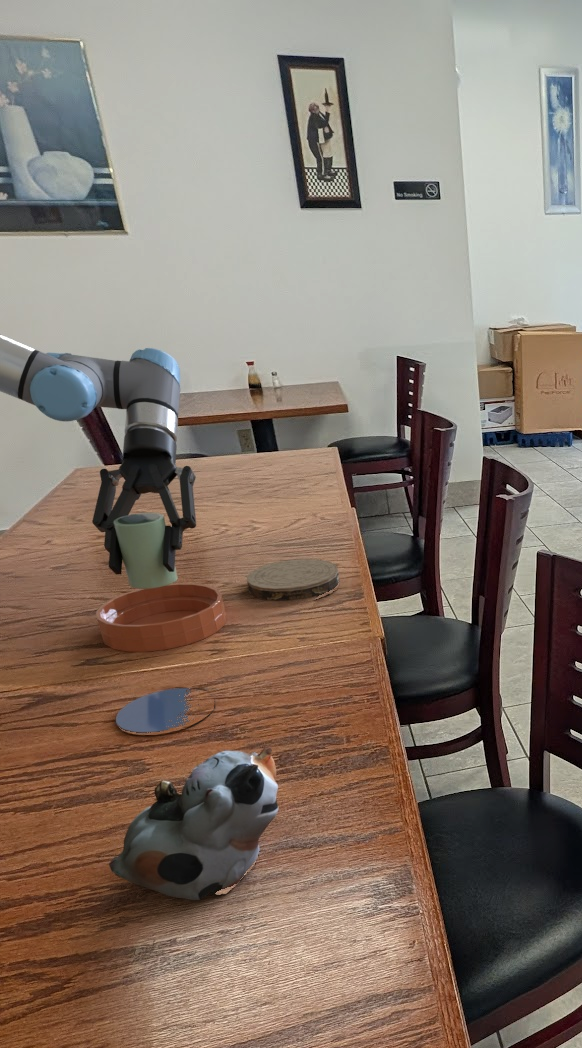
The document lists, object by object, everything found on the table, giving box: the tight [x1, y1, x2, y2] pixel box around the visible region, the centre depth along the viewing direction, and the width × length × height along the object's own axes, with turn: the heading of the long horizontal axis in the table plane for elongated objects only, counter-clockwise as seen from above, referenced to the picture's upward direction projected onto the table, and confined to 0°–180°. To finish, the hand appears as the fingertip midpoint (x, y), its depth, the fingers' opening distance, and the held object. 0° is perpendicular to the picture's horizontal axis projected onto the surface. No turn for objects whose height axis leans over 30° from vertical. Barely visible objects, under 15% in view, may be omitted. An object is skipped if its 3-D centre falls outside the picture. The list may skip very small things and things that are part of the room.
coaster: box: [115, 687, 199, 733], centre depth 108 cm, size 12×12×1 cm
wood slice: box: [246, 558, 341, 602], centre depth 149 cm, size 16×16×3 cm
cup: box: [113, 512, 179, 590], centre depth 126 cm, size 7×7×10 cm
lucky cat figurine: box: [108, 745, 279, 901], centre depth 78 cm, size 15×12×14 cm
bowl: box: [94, 582, 228, 653], centre depth 131 cm, size 18×18×5 cm
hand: (141, 568), depth 124 cm, fingers closed on cup, 7 cm apart
